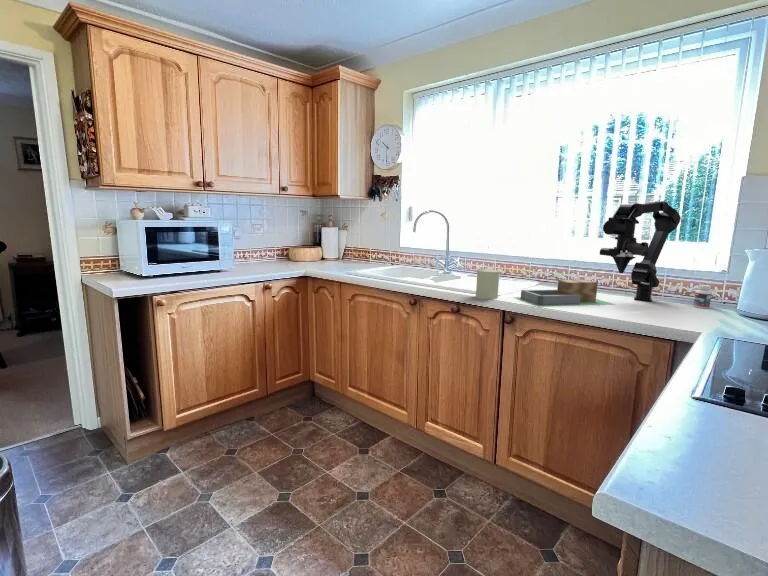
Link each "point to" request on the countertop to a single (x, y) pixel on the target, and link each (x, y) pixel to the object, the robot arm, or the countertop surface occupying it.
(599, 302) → the mat
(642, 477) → the countertop surface
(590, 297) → the walnut block
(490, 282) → the can
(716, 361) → the countertop surface
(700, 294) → the pill bottle
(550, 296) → the grey tray
